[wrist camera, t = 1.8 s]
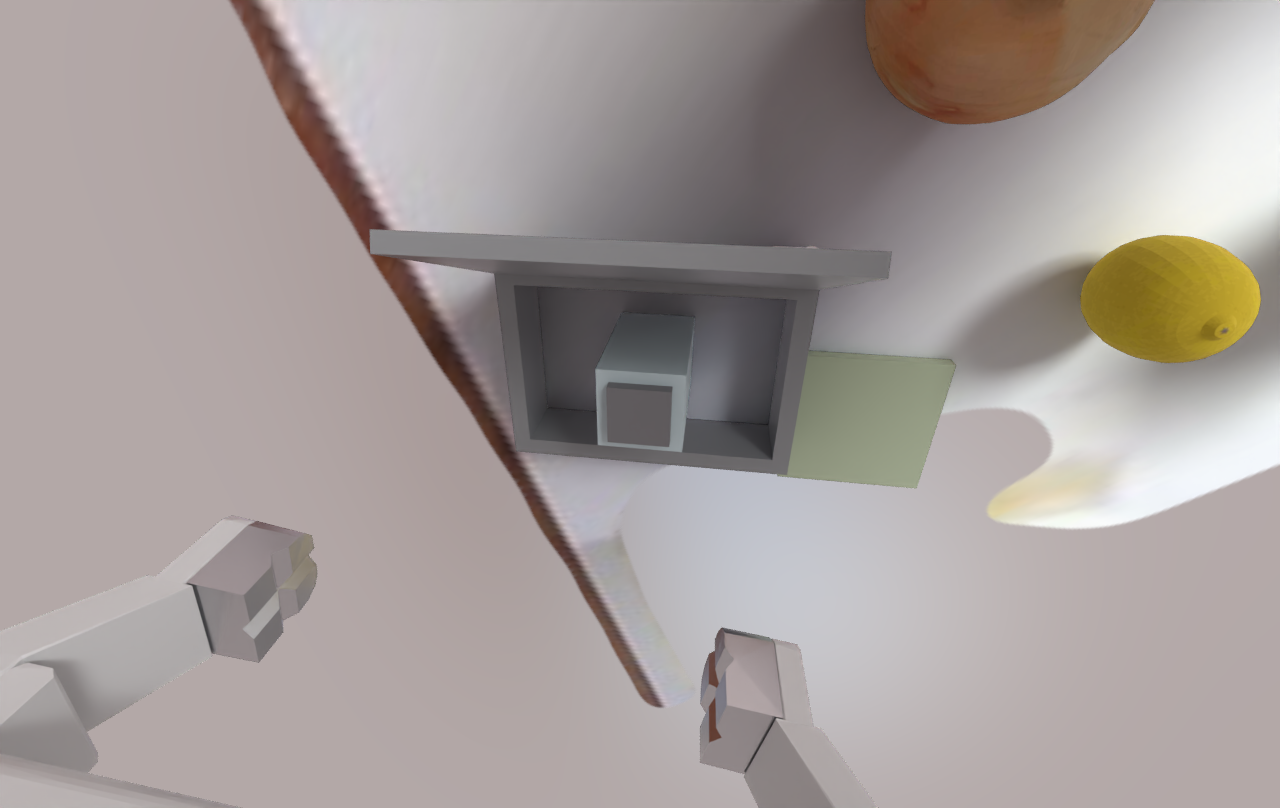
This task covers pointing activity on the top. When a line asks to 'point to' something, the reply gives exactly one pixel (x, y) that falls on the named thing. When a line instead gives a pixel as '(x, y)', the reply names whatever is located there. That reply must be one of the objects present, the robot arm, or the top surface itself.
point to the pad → (867, 417)
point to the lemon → (1170, 299)
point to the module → (645, 382)
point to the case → (645, 271)
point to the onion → (992, 51)
